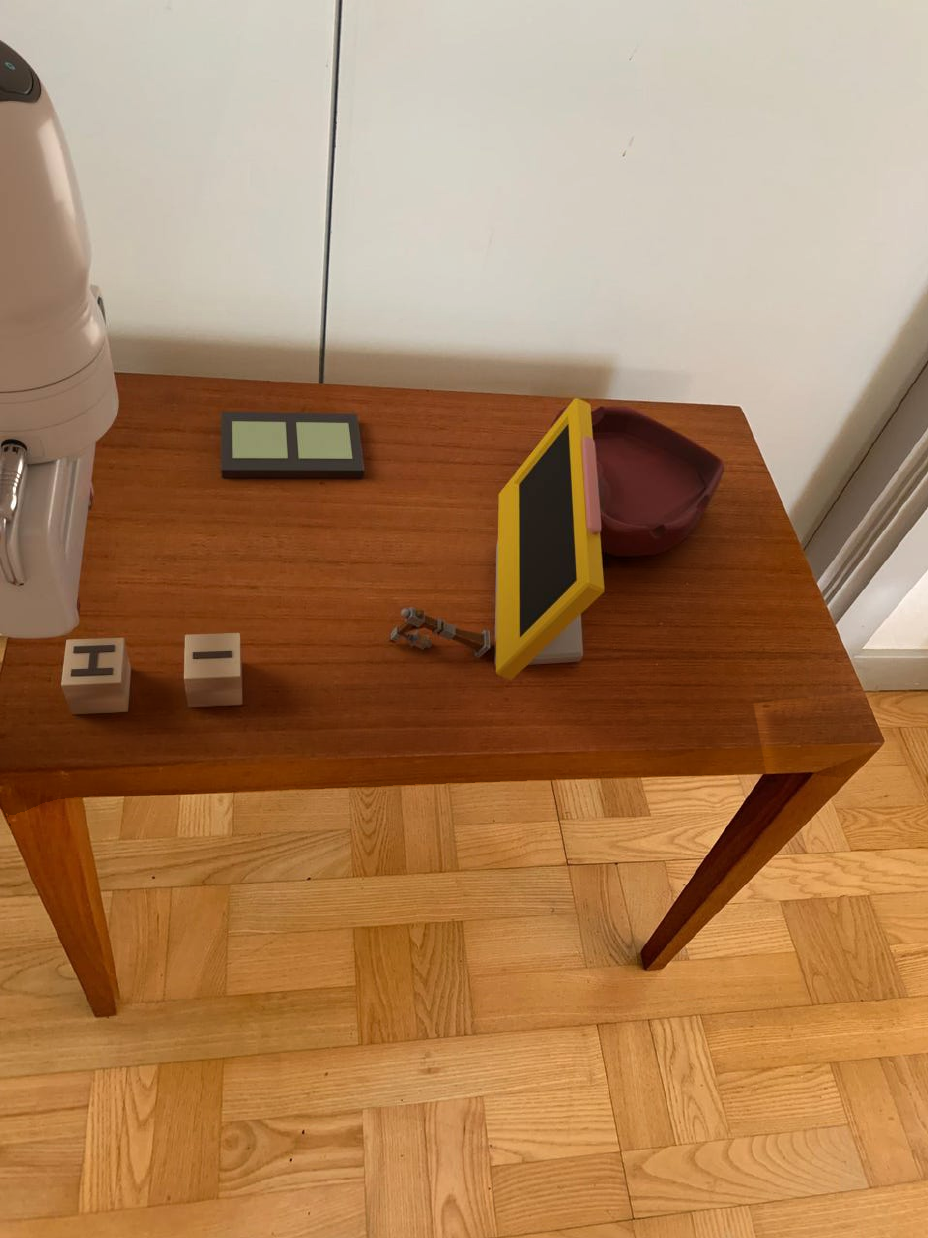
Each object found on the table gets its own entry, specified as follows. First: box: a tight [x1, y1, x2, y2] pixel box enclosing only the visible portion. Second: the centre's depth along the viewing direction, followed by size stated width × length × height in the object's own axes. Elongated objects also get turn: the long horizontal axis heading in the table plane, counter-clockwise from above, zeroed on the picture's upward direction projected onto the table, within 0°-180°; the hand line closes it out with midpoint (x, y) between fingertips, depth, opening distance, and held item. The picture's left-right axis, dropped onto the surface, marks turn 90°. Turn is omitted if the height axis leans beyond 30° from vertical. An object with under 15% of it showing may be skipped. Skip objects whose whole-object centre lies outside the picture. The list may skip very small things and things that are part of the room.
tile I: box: [183, 632, 243, 708], centre depth 70 cm, size 4×4×4 cm
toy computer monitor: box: [493, 397, 605, 681], centre depth 75 cm, size 20×8×16 cm, turn 178°
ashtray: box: [549, 405, 725, 557], centre depth 90 cm, size 18×16×5 cm
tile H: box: [60, 637, 132, 715], centre depth 68 cm, size 4×4×4 cm
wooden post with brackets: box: [388, 606, 491, 659], centre depth 76 cm, size 2×8×4 cm, turn 91°
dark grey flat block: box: [220, 411, 365, 479], centre depth 88 cm, size 13×8×1 cm, turn 99°
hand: (72, 558), depth 58 cm, fingers open, 8 cm apart
